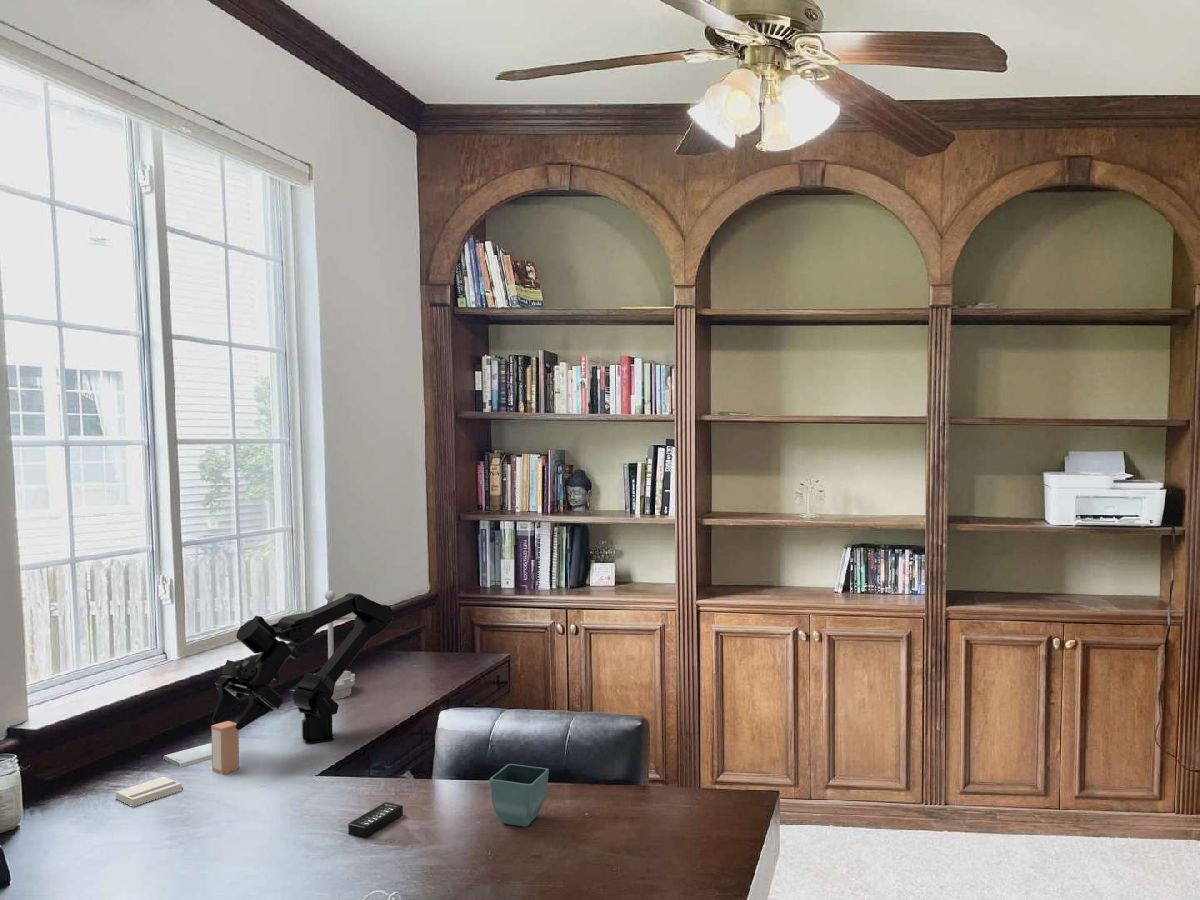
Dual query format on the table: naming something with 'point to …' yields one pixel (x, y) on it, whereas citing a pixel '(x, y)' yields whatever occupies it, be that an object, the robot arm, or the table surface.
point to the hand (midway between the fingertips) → (225, 725)
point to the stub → (225, 747)
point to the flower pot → (518, 793)
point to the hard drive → (190, 755)
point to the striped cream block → (148, 791)
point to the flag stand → (346, 678)
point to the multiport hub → (375, 820)
